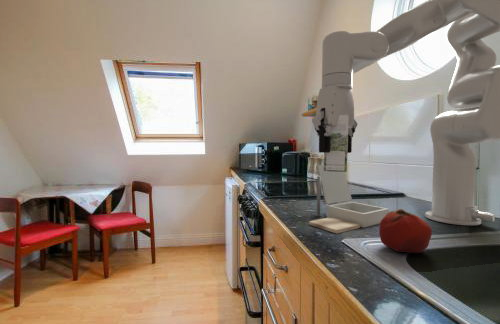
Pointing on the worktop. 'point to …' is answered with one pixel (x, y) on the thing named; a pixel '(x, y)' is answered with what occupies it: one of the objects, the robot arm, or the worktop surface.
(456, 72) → the robot arm
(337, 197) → the lid
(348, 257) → the worktop surface
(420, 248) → the tomato
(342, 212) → the case
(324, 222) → the plate
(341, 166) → the syrup box
